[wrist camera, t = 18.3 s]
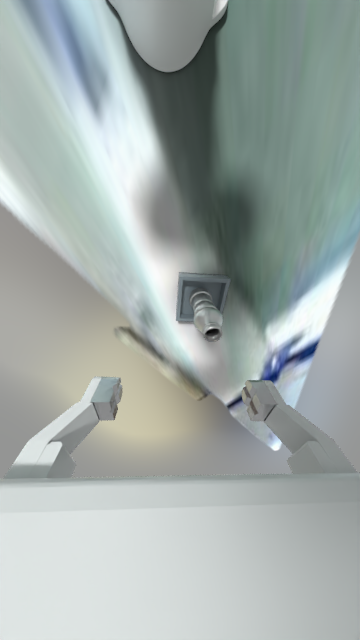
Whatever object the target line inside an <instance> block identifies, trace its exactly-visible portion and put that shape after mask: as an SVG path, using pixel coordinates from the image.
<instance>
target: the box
mask: <svg viewBox="0 0 360 640" xmlns="http://www.w3.org/2000/svg"><path fill="white" fill-rule="evenodd" d="M230 281H231V279H230V278H229V277H228V276H226V275H212V274H197V273H182V272H179V281H178V295H177V309H176V321H191V322H194V310H193V308H192V306H191V305H190V303H189V295H190V293H191V292H192V291H193V290H194V289H196V288H205V289H207V290H208V291H209V292H210V293H211V296H212V301H213V304H214V305H215V307H216V308H217V309H218V310H219V311H220V313H221V314H222V313H223V309H224V305H225V301H226V297H227V293H228V289H229V285H230Z"/></svg>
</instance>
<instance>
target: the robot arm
mask: <svg viewBox="0 0 360 640" xmlns="http://www.w3.org/2000/svg"><path fill="white" fill-rule="evenodd" d="M109 2H110V3H111V4H112V5H113V7H114V8H115V9H116V10H117V12H118V13H119V15H120V17H121V19H122V22H123V24H124V27H125V29H126V32H127V34H128V36H129V38H130V40H131V42H132V44H133V46H134V48H135V49H136V51H137V52H138V54H139V55H140V56H141V57H142V59H143V60H144V61H145V62H146V63H148V64H149V65H150V66H151V67H153V68H155V69H157V70H159V71H163V72H174V71H177V70H179V69H181V68H183V67H184V66H186V65H187V64H188V63H189V62H190V61H191V60H192V59H193V58H194V56H195V55H196V54H197V52H198V50H199V49H200V47H201V45H202V43H203V41H204V39H205V37H206V35H207V33H208V31H209V29H210V28H211V27H212V26H213V25H214V24H216V23H217V22H218V21H219V20H220V19H221V17H222V16H223V15H224V13H225V11H226V9H227V4H228V0H109ZM120 383H121V379H120V378H116V377H94V378H93V379H92V380H91V382H90V384H89V386H88V388H87V390H86V392H85V393H84V395H83V397H82V399H81V401H80V402H78V403H76V404H74V405H73V406H72V407H71V408H69V409H68V410H67V411H66V412H64V413H63V414H62V415H61V416H59V417H58V418H57V419H56V420H54V421H53V422H52V423H50V424H49V425H48V426H47V427H45V428H44V429H43V430H42V431H40V432H39V433H38V434H37V435H36V436H34V437H33V438H32V439H30V440H29V441H28V443H27V444H26V445H25V447H24V448H23V450H22V451H21V453H20V454H19V456H18V458H17V459H16V460H15V462H14V463H13V465H12V466H11V468H10V469H9V471H8V472H7V474H6V475H5V477H4V478H3V479H0V640H360V472H357V471H356V470H355V468H354V467H353V465H352V464H351V463H350V462H349V460H348V459H347V457H346V456H345V455H344V453H343V452H342V451H341V449H340V448H339V446H338V445H337V444H336V442H335V441H334V440H333V439H332V438H330V437H329V436H328V435H327V434H325V433H324V432H323V431H321V430H320V429H319V428H318V427H316V426H315V425H314V424H312V423H311V422H310V421H308V420H307V419H306V418H305V417H303V416H302V415H301V414H300V413H298V412H297V411H296V410H295V409H293V408H292V407H291V406H289V405H286V403H285V402H284V400H283V398H282V397H281V395H280V394H279V392H278V391H277V389H276V387H275V386H274V384H273V383H272V382H271V381H262V380H248V381H246V383H245V385H246V386H245V387H244V388H243V390H242V399H243V402H244V404H246V405H247V406H248V407H247V412H248V415H249V417H250V420H251V421H265V422H264V423H265V424H266V425H267V426H268V427H269V428H270V429H271V430H272V431H273V433H274V434H275V435H276V436H277V437H278V438H279V439H280V440H281V441H282V443H283V444H284V445H285V446H286V447H287V448H288V449H289V450H290V451H291V452H292V454H293V455H292V456H291V457H290V458H288V460H287V462H288V465H289V467H290V469H291V471H292V473H293V474H247V475H246V474H244V475H189V476H135V477H81V478H80V477H78V478H71V477H72V474H73V471H74V469H75V466H76V462H75V460H74V459H73V458H72V456H71V455H70V454H71V453H72V452H73V451H74V450H75V448H76V447H77V446H78V445H79V444H80V443H81V442H82V441H83V439H84V438H85V437H86V436H87V435H88V434H89V433H90V432H91V430H92V429H93V428H94V427H95V426H96V425H97V424H98V422H99V420H115V416H116V413H117V410H118V407H117V404H118V403H119V402H120V400H121V396H122V385H120Z"/></svg>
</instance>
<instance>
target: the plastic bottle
mask: <svg viewBox="0 0 360 640" xmlns="http://www.w3.org/2000/svg"><path fill="white" fill-rule="evenodd" d="M189 303H190V305H191V306H192V308H193V310H194V324H195V327H196V328H197V329H198V330H199V331H200V332H202V333H203V335H204V338H205V339H206V340H207V341H209V342H215V341H218V340H219V339H220V338H221V337H222V330H221V326H222V324H223V316H222V314H221V313H220V311H219V310H218V309H217V308H216V307H215V305H214V304H213V301H212V296H211V293H210V292H209V291H208V290H207V289H205V288H196V289H194V290H193V291H192V292H191V293H190V295H189Z"/></svg>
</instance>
